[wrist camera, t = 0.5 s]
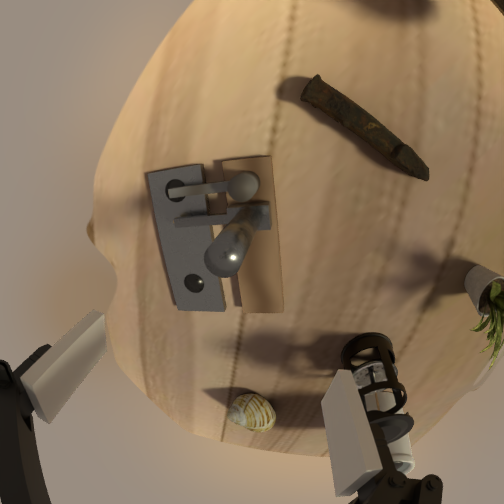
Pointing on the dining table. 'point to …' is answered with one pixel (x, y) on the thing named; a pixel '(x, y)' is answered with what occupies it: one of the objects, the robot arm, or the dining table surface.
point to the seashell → (252, 413)
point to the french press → (379, 384)
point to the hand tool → (364, 126)
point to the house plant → (487, 303)
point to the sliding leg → (231, 234)
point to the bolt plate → (186, 240)
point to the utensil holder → (401, 446)
